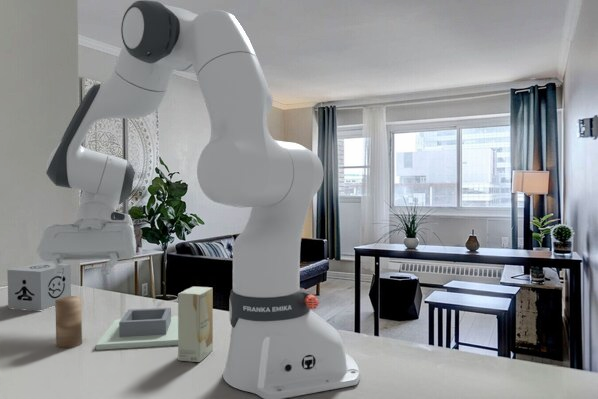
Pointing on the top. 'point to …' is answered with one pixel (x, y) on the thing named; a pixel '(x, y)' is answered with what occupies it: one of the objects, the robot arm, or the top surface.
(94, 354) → the top surface
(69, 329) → the brown dome-topped peg
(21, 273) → the icon cube
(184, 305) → the skincare box
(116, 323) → the collar holder
